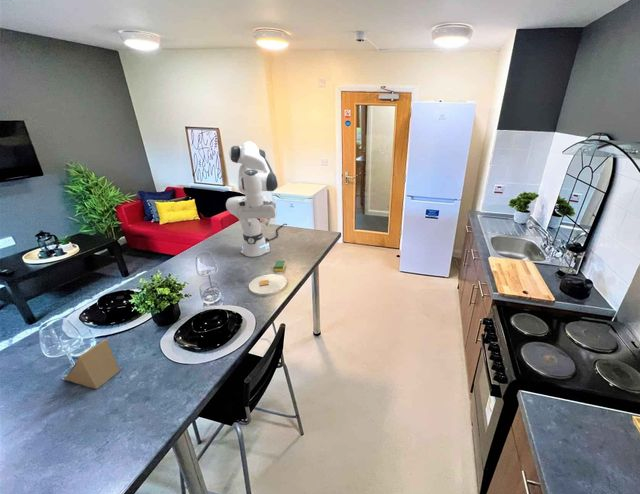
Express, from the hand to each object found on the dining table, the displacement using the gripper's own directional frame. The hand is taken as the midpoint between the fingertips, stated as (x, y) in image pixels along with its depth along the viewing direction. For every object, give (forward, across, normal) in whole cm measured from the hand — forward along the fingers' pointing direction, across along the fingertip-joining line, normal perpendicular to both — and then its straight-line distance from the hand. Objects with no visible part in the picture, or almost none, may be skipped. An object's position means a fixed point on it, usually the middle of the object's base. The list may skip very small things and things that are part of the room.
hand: (258, 225), depth 160 cm
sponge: (+30, -8, -2) cm, 31 cm away
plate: (+30, -5, +15) cm, 34 cm away
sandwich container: (+31, +47, +69) cm, 89 cm away
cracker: (+29, -3, +15) cm, 32 cm away
